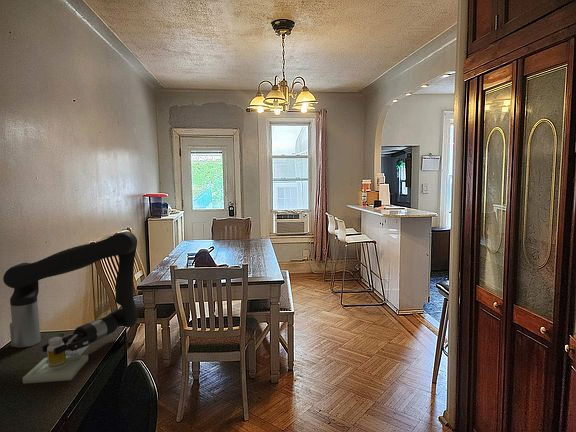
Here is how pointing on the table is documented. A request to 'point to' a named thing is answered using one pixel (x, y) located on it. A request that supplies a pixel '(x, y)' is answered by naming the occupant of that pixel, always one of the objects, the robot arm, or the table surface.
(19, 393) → the table surface
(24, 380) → the sage tray
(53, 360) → the supplement bottle
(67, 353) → the gray square frame
